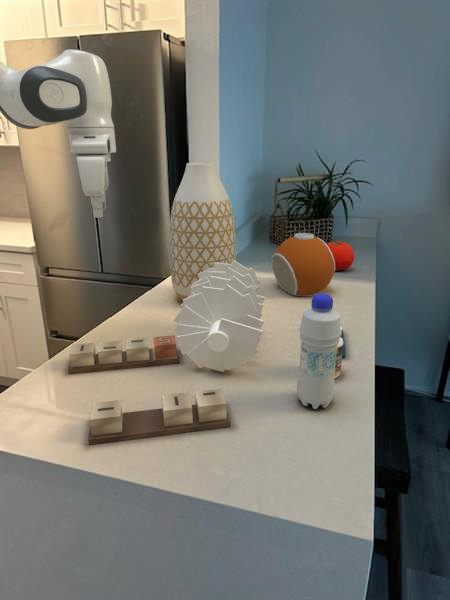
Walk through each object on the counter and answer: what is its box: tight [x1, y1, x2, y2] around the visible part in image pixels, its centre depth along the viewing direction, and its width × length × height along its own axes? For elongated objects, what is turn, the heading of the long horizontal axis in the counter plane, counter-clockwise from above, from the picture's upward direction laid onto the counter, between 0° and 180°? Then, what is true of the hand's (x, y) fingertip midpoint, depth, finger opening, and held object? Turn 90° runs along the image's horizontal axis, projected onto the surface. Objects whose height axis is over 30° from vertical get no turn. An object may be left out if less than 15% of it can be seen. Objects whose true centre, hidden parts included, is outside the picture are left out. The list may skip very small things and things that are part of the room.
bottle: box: [296, 293, 341, 410], centre depth 72 cm, size 7×7×20 cm
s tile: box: [153, 334, 178, 359], centre depth 91 cm, size 4×4×3 cm
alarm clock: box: [271, 232, 336, 297], centre depth 131 cm, size 19×18×17 cm
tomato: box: [326, 239, 355, 272], centre depth 153 cm, size 11×13×10 cm
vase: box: [169, 162, 237, 301], centre depth 120 cm, size 19×18×38 cm
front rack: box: [87, 388, 231, 446], centre depth 69 cm, size 22×6×4 cm, turn 101°
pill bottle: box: [334, 325, 343, 379], centre depth 84 cm, size 6×6×10 cm
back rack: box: [67, 337, 180, 375], centre depth 89 cm, size 22×6×4 cm, turn 101°
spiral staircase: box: [173, 260, 266, 373], centre depth 92 cm, size 18×18×25 cm
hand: (100, 213), depth 91 cm, fingers open, 8 cm apart
